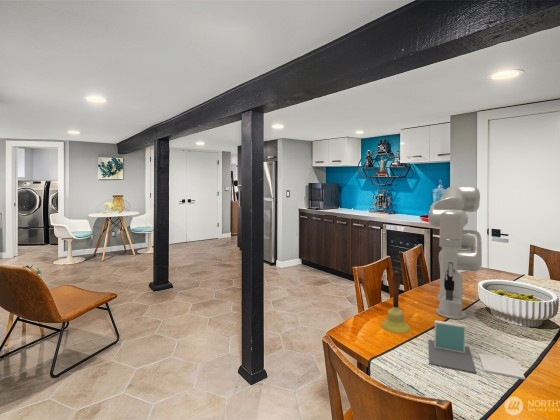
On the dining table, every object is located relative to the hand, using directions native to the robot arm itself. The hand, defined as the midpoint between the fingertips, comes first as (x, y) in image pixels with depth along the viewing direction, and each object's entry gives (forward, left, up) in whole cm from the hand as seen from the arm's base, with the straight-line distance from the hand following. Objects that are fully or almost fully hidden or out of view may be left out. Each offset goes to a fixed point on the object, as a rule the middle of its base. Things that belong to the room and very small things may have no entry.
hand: (449, 288), depth 123 cm
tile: (+9, 0, -16) cm, 18 cm away
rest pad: (+14, +15, -21) cm, 29 cm away
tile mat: (+13, 0, -21) cm, 25 cm away
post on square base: (0, 0, -4) cm, 4 cm away
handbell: (-4, -20, -21) cm, 30 cm away
